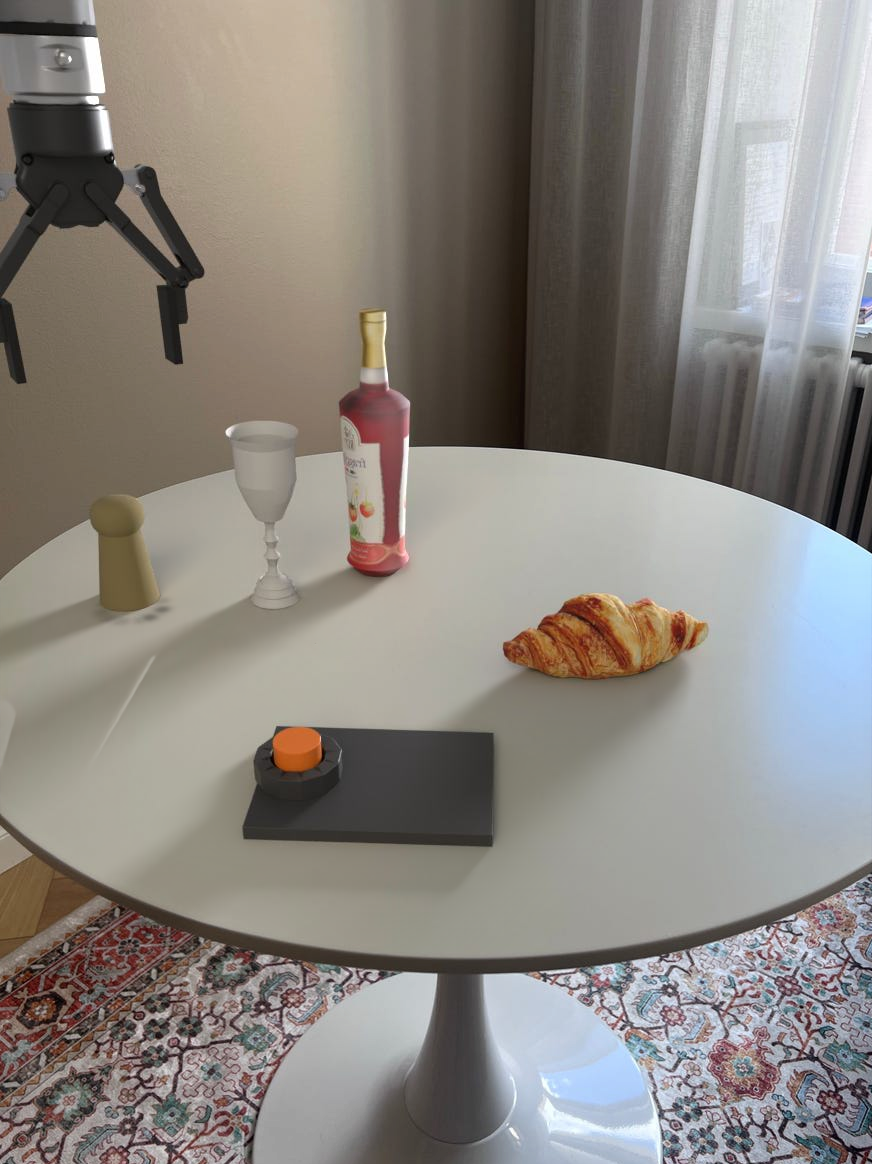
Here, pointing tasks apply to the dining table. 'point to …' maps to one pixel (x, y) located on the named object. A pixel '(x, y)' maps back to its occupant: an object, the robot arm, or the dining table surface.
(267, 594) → the chalice
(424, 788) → the base
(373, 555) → the liquor
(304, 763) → the switch
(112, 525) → the cork
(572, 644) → the croissant
